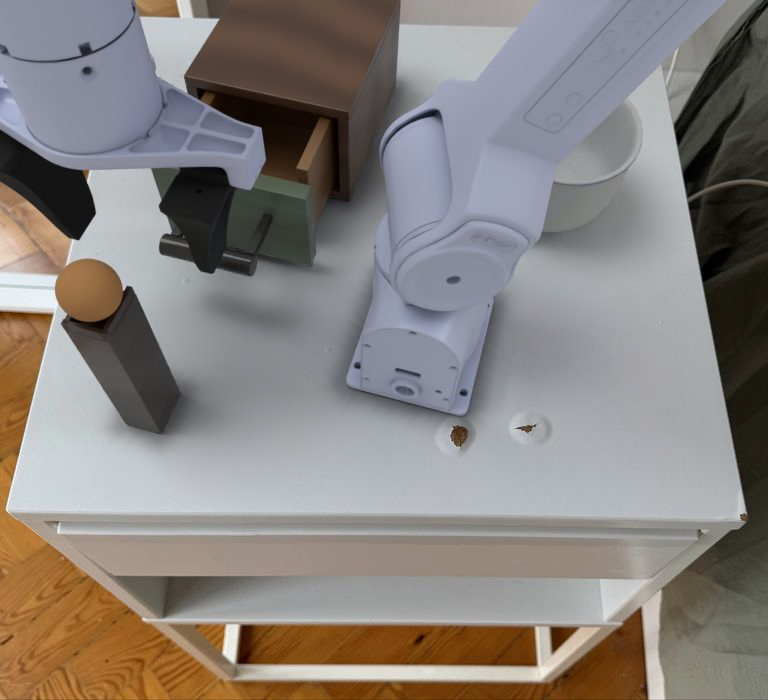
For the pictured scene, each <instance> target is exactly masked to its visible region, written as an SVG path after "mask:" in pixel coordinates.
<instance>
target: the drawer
mask: <svg viewBox="0 0 768 700" xmlns="http://www.w3.org/2000/svg"><path fill="white" fill-rule="evenodd" d="M200 101H202V102H203V103H205V104H207V105H209V106H210V107H212V108H214V109H216V110H217V111H219V112H221V113H223V114H225V115H227V116H229V117H231V118H233V119H235V120H238V121H240V122H243V123H246V124H250V125H253V126H257V127H261V129H262V136H263V142H264V149H265V156H266V161H265V163H264V165H263V167H262V169H261V171H260V173H259V175H258V177H257V179H256V181H255V183H254V185H253V187H252V189H251V190H246V189H242V188H238V187H237V188H236V191H235V194H234V197H233V200H232V204H231V208H230V213H229V219H228V227H227V248H226V250H225V252H224V254H223V256H222V258H221V260H220V262H219V264H218V266H217V268H216V270H217V269H218V270H220V271H224V272H229V273H233V274H237V275H240V276H241V275H242V276H245V277H249V278H252V277H253V276H254V275H255V273H256V271H257V267H258V254H260V255H264V256H268V257H272V258H276V259H280V260H284V261H288V262H292V263H296V264H299V265H300V264H301V265H305V266H309V267H312V265H313V263H314V261H315V258H316V256H317V240H316V227H317V225H318V222H319V220H320V218H321V215H322V213H323V211H324V209H325V206H326V203H327V201H328V199H329V198H330V197H329V194H330V192H331V189H332V187H333V185H334V182H335V180H336V178H337V175H338V173H339V144H338V118H333V117H328V116H324V115H319V114H315V113H310V112H306V111H301V110H297V109H292V108H288V107H283V106H279V105H274V104H270V103H265V102H260V101H256V100H251V99H247V98H242V97H238V96H233V95H229V94H224V93H220V92H215V91H211V90H206V92H205V93H204V95H203V97H202V98H201V100H200ZM150 171H151V174H152V176H153V180H154V182H155V185H156V188H157V191H158V194H159V197H160V201H161V200H162V199H163V197H164V195H165V194H166V192H167V190H168V188H169V187H170V185H171V183H172V182H173V180H174V178H175V176H176V175H178V174H179V172H180V169H179V167H175V168H150ZM166 218H167V222H168V224H169V227H170V230H171V232H170V233H167V232H166V233H163V234H162V235H161V236H160V237H161V238H160V239H159V243H158V252H159V254H160V255H161V256H165V257H168V258H172V259H175V260H181V261H184V262H189V263H192V264H195V263H194V260H193V257H192V254H191V251H190V248H189V245H188V243H187V241H186V239H185V237H184V235H183V234H182V232H181V231H180V229H179V228H178V227H177V225H176V224H175V223H174V222H173V221H172V220H171V219H170V218H169V217H167V216H166ZM229 247H232V248H229ZM233 248H234V249H233ZM235 248H236V249H239V250H236V249H235ZM241 250H243V251H241Z"/></svg>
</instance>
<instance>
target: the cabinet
mask: <svg viewBox="0 0 768 700" xmlns="http://www.w3.org/2000/svg"><path fill="white" fill-rule="evenodd" d="M401 2H402V0H230V1H229V3H228V4H227V6H226V8H225V10H224V11H223V13H222V14H221V16H220V17H219V19H218V21H217V22H216V23H215V26H213V28H212V30H211V32H209V34H208V37H207V38H206V40H205V41H204V43H203V45H202V46H201V47H200V49H199V51H198V52H197V54H196V56H194V59H193V60H192V62H191V64H190V65H189V66H188V68H187V69H186V71H185V73H184V75H183V79H184V83H185V88H186V93H188V94H189V95H191V96H193V97H195V98H196V99H198V100H201V98H202V97H203V95H204V93H205V92H206V90H211V91H215V92H220V93H224V94H229V95H233V96H238V97H242V98H247V99H251V100H256V101H260V102H265V103H270V104H274V105H279V106H283V107H288V108H292V109H297V110H301V111H306V112H310V113H315V114H319V115H324V116H328V117H333V118H338V144H339V173H338V175H337V178H336V180H335V182H334V185H333V187H332V189H331V192H330V194H329V197H328V198H332V199H335V200H341V201H345V202H351V200H352V197H353V194H354V192H355V189H356V187H357V184H358V182H359V181H360V180H359V179H360V177H361V174H362V172H363V170H364V167H365V164H366V162H367V160H368V157H369V155H370V152H371V149H372V147H373V145H374V142H375V139H376V137H377V134H378V132H379V130H380V127H381V125H382V122H383V119H384V117H385V114H386V112H387V110H388V107H389V104H390V102H391V100H392V97H393V95H394V92H395V89H396V88H397V76H398V75H397V74H398V59H399V58H398V57H399V42H400V41H399V39H400V25H401V24H400V23H401V22H400V21H401V7H402V3H401Z"/></svg>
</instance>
